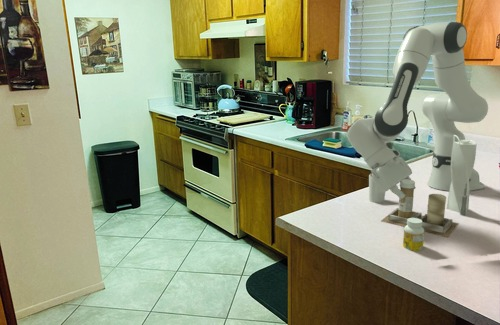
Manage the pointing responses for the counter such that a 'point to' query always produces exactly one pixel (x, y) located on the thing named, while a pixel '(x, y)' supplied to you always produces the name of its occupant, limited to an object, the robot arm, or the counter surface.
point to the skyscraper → (461, 175)
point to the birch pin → (436, 209)
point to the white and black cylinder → (375, 191)
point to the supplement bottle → (413, 235)
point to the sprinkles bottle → (406, 198)
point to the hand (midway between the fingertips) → (408, 193)
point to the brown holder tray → (429, 228)
